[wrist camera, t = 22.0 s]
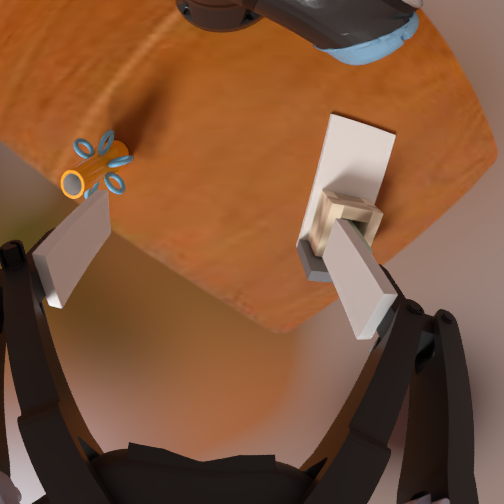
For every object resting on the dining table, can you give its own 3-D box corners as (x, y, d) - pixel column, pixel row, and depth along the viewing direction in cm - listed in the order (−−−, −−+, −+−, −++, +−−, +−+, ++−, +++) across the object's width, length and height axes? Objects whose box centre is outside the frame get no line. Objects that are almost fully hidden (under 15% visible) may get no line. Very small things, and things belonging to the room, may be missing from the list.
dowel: (331, 208, 49) (354, 243, 39) (350, 212, 49) (376, 246, 39) (325, 227, 51) (345, 264, 41) (344, 230, 51) (367, 267, 41)
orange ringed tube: (141, 120, 39) (101, 134, 26) (150, 177, 44) (119, 213, 32) (81, 135, 39) (32, 158, 26) (93, 187, 44) (52, 224, 32)
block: (321, 189, 46) (332, 203, 41) (369, 200, 48) (383, 213, 43) (307, 238, 52) (315, 256, 47) (353, 244, 53) (364, 261, 48)
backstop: (330, 113, 40) (356, 121, 31) (393, 134, 42) (427, 148, 33) (295, 245, 54) (307, 280, 45) (353, 253, 55) (372, 285, 46)
